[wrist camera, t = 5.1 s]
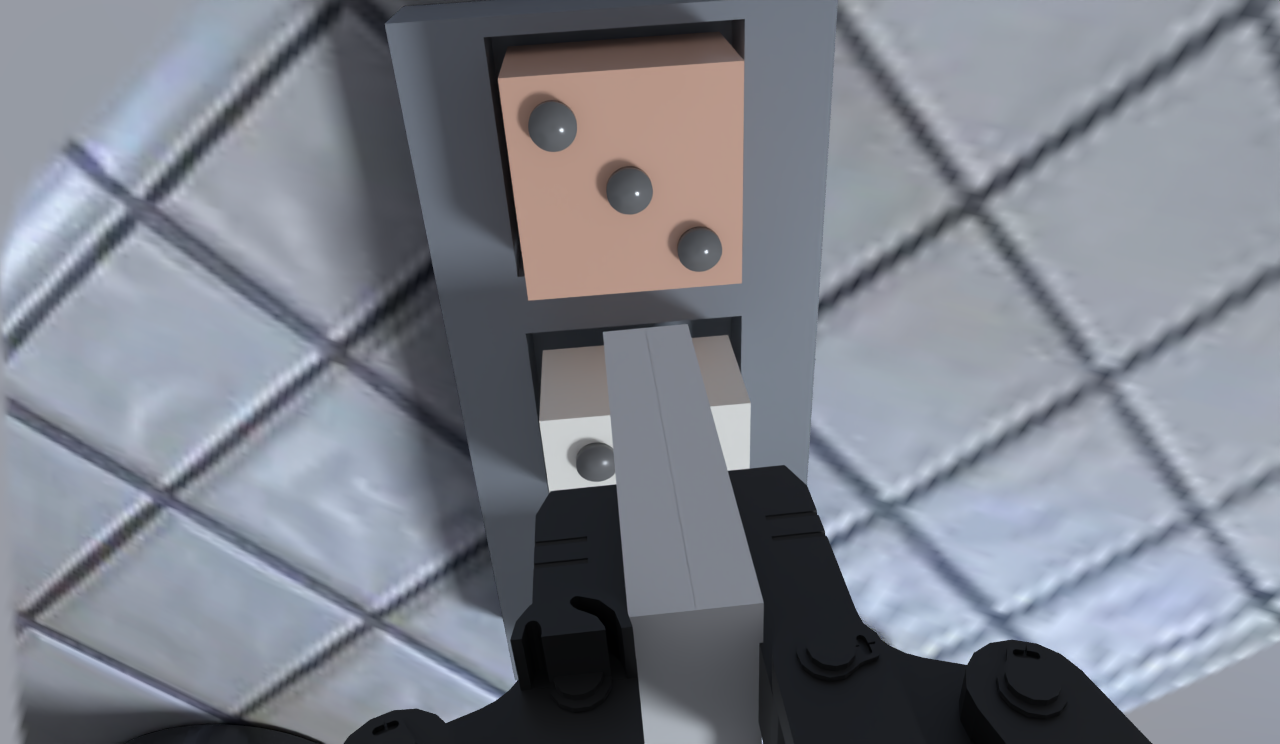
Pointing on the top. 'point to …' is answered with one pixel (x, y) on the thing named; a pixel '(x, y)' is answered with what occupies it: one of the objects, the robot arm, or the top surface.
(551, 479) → the tile two
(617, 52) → the tile three
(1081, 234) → the top surface
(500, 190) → the console
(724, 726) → the robot arm
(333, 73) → the top surface
